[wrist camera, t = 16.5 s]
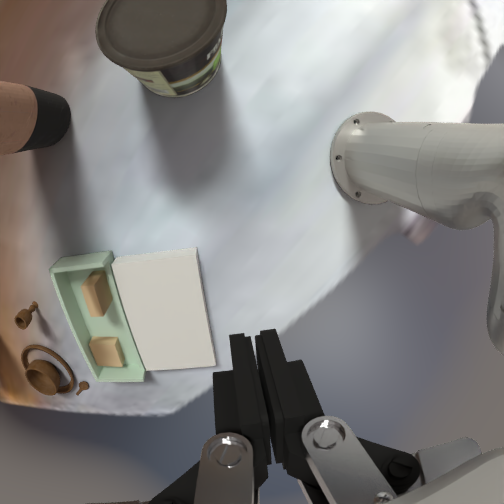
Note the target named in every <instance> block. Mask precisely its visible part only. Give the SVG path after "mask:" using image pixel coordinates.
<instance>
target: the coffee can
mask: <svg viewBox="0 0 504 504" xmlns="http://www.w3.org/2000/svg"><path fill="white" fill-rule="evenodd" d="M226 13H227V3H226V0H106V2H105V3H104V5H103V7H102V8H101V10H100V13H99V15H98V18H97V22H96V40H97V43H98V46H99V48H100V49H101V51H102V52H103V54H104V55H105V56H106V57H107V58H108V59H109V60H111V61H112V62H114V63H115V64H117V65H119V66H121V67H123V68H124V69H125V70H127V71H128V72H129V73H130V74H132V75H133V76H134V77H135V78H137V79H138V80H139V81H140V82H142V83H143V84H144V86H145V87H146V88H147V89H149V90H150V91H152V92H154V93H156V94H158V95H161V96H165V97H182V96H187V95H190V94H192V93H195V92H197V91H199V90H200V89H202V88H203V87H205V86H206V85H207V84H208V83H209V82H210V81H211V80H212V79H213V77H214V76H215V74H216V73H217V71H218V68H219V65H220V61H221V43H222V34H223V25H224V22H225V18H226Z"/></svg>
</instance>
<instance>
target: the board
mask: <svg viewBox="0 0 504 504" xmlns="http://www.w3.org/2000/svg"><path fill="white" fill-rule="evenodd" d="M111 265H112V269H113V273H114V276H115V280H116V284H117V287H118V290H119V294H120V297H121V300H122V304H123V307H124V310H125V313H126V316H127V319H128V322H129V325H130V328H131V331H132V334H133V337H134V340H135V342H136V345H137V348H138V350H139V353H140V356H141V358H142V361H143V363H144V366H145V368H146V371H149V370H169V369H184V368H196V367H207V366H216V355H215V350H214V345H213V340H212V334H211V329H210V324H209V318H208V313H207V307H206V301H205V296H204V290H203V284H202V278H201V271H200V265H199V259H198V252H197V247H195V248H186V249H178V250H170V251H161V252H153V253H145V254H137V255H129V256H121V257H117V258H116V259H115V260H114V262H113V263H112V264H111Z"/></svg>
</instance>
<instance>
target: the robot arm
mask: <svg viewBox="0 0 504 504" xmlns="http://www.w3.org/2000/svg"><path fill="white" fill-rule="evenodd" d="M354 121H355V123H354ZM336 156H337V157H338V158H337V160H336ZM330 161H331V167H332V171H333V174H334V177H335V179H336V181H337V183H338V185H339V186H340V187H341V188H342V190H343V191H344V192H345V193H346V194H347V195H349V196H350V197H351V198H353V199H355V200H357V201H359V202H362V203H365V204H371V205H372V204H381V203H384V202H387V201H390V202H392V203H395V204H397V205H399V206H402V207H404V208H406V209H409V210H411V211H413V212H416V213H418V214H420V215H422V216H424V217H427V218H429V219H431V220H433V221H436V222H438V223H440V224H442V225H444V226H447V227H449V228H452V229H457V230H468V229H472V228H475V227H477V226H480V225H481V224H483V223H485V222H486V221H488V220H489V219H491V220H492V223H493V227H494V258H493V269H492V277H491V285H490V291H489V298H488V306H487V329H488V334H489V337H490V339H491V341H492V343H493V345H494V346H495V348H496V349H497V350H498V351H499V352H500V353H501V354H502V355H504V124H469V123H438V122H395V121H394V120H393V119H391V118H390V117H389V116H386V115H384V114H382V113H378V112H362V113H358V114H355V115H353V116H351V117H350V118H348V119H347V120H345V121H344V122H343V123H342V125H341V126H340V127H339V128H338V130H337V132H336V133H335V136H334V138H333V141H332V145H331V151H330ZM356 192H357V193H356ZM355 193H356V195H355ZM229 338H230V347H231V356H232V364H233V370H230V371H221V372H213V392H214V412H215V428H216V435H214V436H213V437H211V438H210V439H208V440H207V442H206V443H205V444H204V446H203V448H202V452H201V458H200V461H199V462H198V463H197V464H195V465H194V466H193V467H192V468H190V469H189V470H188V471H187V472H186V473H185V474H183V475H182V476H181V477H180V478H178V479H177V480H176V481H175V482H174V483H172V484H171V485H170V486H169V487H167V488H166V489H164V490H163V491H162V492H161V493H159V494H158V495H157V496H155V497H154V498H153V499H152V500H151V501H145V502H140V501H139V500H137V501H126V502H112V503H87V504H259V487H260V486H261V485H262V484H263V483H264V482H265V481H266V479H267V478H268V470H267V465H270V464H271V447H270V438H271V443H272V447H273V452H274V456H275V460H276V463H282V465H283V469H286V470H287V474H289V475H290V476H292V477H294V478H297V479H298V483H299V485H300V487H301V489H302V491H303V493H304V495H305V497H306V499H307V501H308V503H309V504H504V447H502V448H497V449H494V450H491V451H488V452H485V453H483V454H482V452H481V449H480V447H479V445H478V443H477V442H476V441H475V440H473V439H472V438H468V437H466V438H460V439H457V440H454V441H451V442H448V443H444V444H440V445H437V446H433V447H430V448H426V449H421V450H418V451H417V452H416V453H413V454H409V453H406V452H402V451H399V450H396V449H392V448H389V447H385V446H382V445H379V444H376V443H373V442H370V441H367V440H364V439H361V438H358V437H356V436H355V435H354V433H353V432H352V430H351V429H350V428H349V426H348V425H347V424H346V423H345V422H344V421H343V420H341V419H339V418H337V417H332V416H325V415H324V413H323V410H322V408H321V405H320V403H319V400H318V398H317V395H316V393H315V390H314V388H313V385H312V383H311V381H310V378H309V376H308V373H307V371H306V368H305V366H304V363H303V361H302V360H297V361H291V362H287V361H286V358H285V355H284V353H283V349H282V347H281V344H280V341H279V338H278V335H277V332H276V329H270V330H263V331H260V335H256V336H255V343H256V354H257V364H256V360H255V355H254V350H253V346H252V341H251V337H250V336H248V337H245V336H244V333H241V334H233V335H229ZM257 365H258V369H257Z"/></svg>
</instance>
